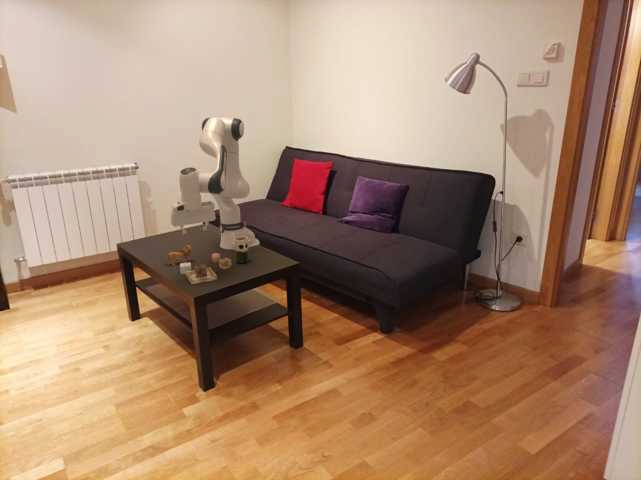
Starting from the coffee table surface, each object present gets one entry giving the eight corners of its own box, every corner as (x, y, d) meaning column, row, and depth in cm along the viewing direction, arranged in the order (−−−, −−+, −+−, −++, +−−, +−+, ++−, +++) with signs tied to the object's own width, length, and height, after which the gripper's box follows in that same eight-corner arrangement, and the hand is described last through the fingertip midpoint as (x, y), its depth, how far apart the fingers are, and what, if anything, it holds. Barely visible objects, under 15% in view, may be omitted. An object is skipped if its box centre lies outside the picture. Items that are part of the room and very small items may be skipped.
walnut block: (205, 273, 235) (204, 264, 233) (207, 277, 231) (206, 267, 229) (195, 275, 233) (194, 265, 231) (197, 278, 229) (196, 268, 227)
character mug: (236, 266, 246) (234, 241, 241) (230, 262, 251) (228, 238, 247) (255, 261, 251) (253, 237, 247) (248, 257, 257) (247, 234, 253)
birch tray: (210, 271, 239) (210, 267, 239) (217, 279, 229) (216, 275, 229) (186, 275, 234) (185, 271, 234) (191, 284, 224) (191, 280, 224)
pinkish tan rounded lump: (219, 259, 255) (218, 252, 253) (221, 262, 251) (220, 254, 250) (211, 261, 253) (210, 253, 252) (213, 263, 250) (212, 256, 248)
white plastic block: (191, 269, 242) (190, 262, 241) (191, 273, 237) (190, 265, 236) (181, 270, 241) (180, 263, 240) (180, 274, 236) (179, 266, 235)
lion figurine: (191, 259, 256) (190, 243, 253) (194, 262, 251) (192, 246, 248) (163, 264, 249) (161, 248, 246) (165, 268, 244) (163, 251, 241)
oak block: (226, 265, 248) (226, 257, 246) (231, 267, 244) (231, 260, 243) (219, 267, 245) (218, 259, 244) (223, 269, 242) (223, 262, 240)
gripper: (212, 199, 230) (214, 227, 235) (168, 205, 221) (171, 233, 226) (215, 202, 225) (218, 230, 229) (170, 208, 216) (174, 237, 220)
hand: (195, 232), depth 227 cm, fingers open, 8 cm apart
